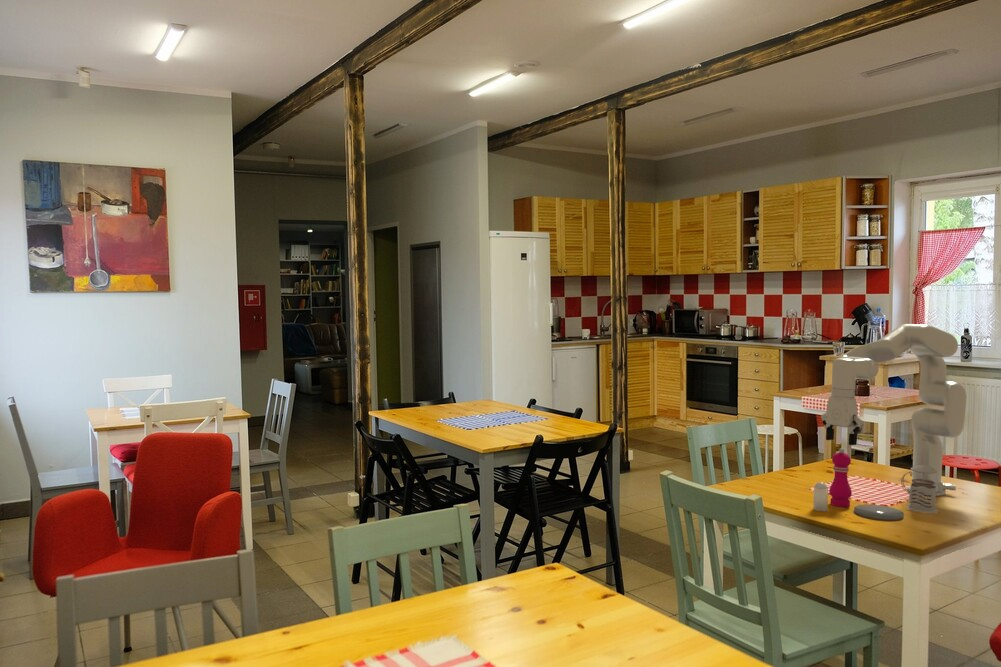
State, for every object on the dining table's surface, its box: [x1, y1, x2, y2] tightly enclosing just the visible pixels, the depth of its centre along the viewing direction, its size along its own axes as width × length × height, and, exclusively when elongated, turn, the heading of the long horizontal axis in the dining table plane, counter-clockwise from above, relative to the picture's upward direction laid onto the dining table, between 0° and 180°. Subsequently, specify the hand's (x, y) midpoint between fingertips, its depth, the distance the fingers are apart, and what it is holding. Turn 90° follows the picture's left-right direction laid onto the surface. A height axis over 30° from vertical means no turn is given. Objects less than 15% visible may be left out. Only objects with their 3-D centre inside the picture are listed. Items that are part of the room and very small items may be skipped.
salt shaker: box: [813, 481, 829, 512], centre depth 263 cm, size 4×4×10 cm
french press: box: [901, 437, 939, 514], centre depth 265 cm, size 10×12×25 cm
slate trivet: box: [853, 504, 905, 522], centre depth 258 cm, size 15×15×1 cm
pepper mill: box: [828, 447, 853, 508], centre depth 269 cm, size 7×7×20 cm
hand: (841, 442), depth 268 cm, fingers open, 9 cm apart
